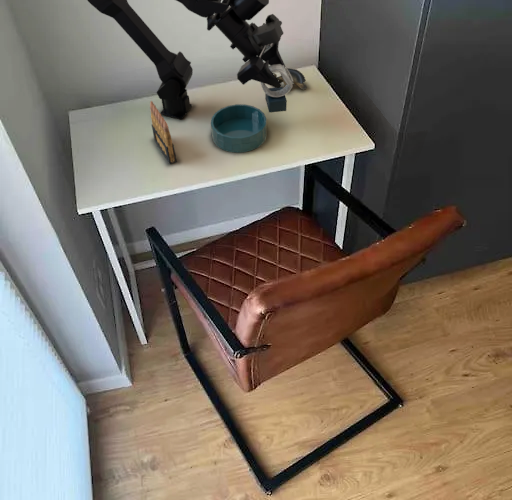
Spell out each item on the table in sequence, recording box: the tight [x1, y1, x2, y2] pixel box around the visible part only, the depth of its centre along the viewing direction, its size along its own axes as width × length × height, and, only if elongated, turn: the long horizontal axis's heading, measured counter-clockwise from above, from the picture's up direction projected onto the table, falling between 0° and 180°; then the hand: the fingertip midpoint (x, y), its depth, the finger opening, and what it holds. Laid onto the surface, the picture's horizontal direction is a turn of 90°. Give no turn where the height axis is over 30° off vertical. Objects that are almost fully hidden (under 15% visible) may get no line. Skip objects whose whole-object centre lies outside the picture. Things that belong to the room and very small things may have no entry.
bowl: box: [210, 103, 268, 154], centre depth 145 cm, size 14×14×4 cm
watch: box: [260, 64, 294, 113], centre depth 141 cm, size 6×8×11 cm
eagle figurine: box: [272, 67, 308, 91], centre depth 158 cm, size 8×7×9 cm
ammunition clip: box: [149, 100, 178, 165], centre depth 139 cm, size 11×2×12 cm, turn 27°
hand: (283, 80), depth 139 cm, fingers closed on watch, 6 cm apart
